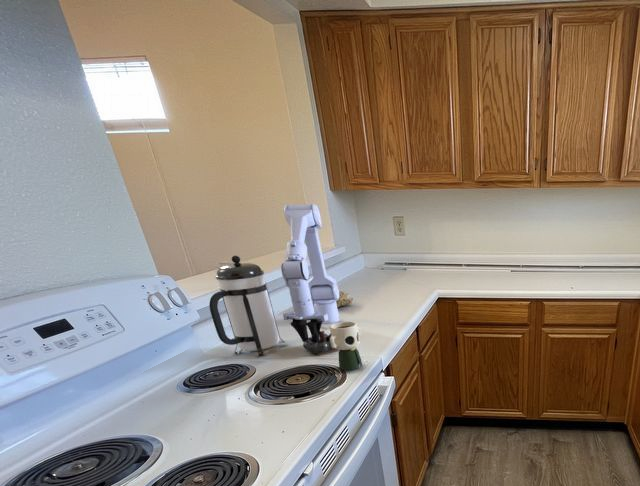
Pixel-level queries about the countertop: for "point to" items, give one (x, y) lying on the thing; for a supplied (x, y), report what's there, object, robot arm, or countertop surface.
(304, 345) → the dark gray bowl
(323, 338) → the peg
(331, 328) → the character mug
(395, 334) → the countertop surface
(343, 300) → the sponge
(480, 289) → the countertop surface
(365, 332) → the countertop surface
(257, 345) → the coffee press
